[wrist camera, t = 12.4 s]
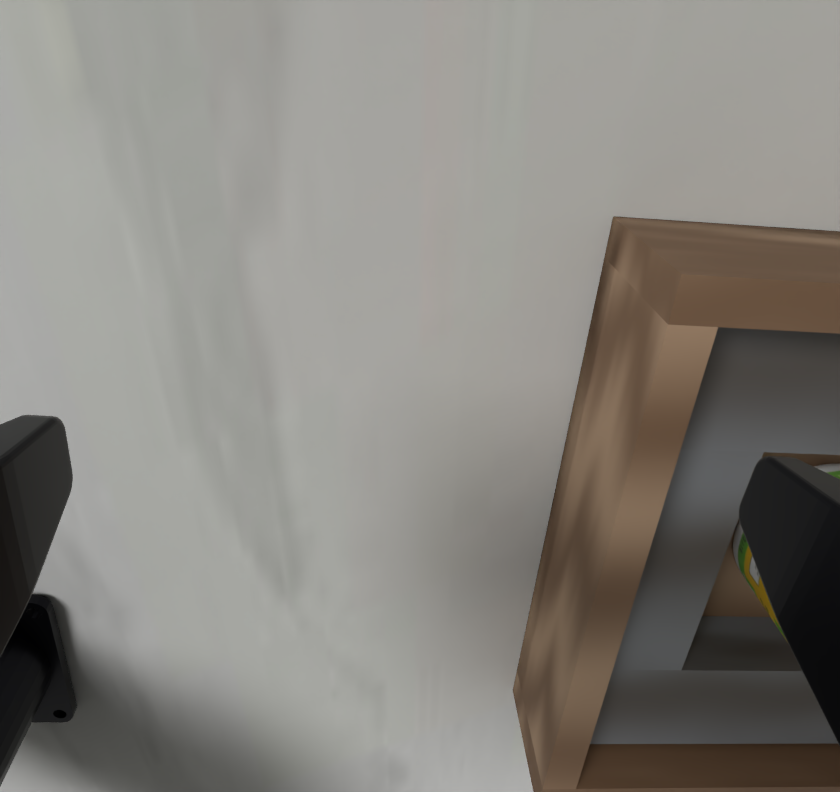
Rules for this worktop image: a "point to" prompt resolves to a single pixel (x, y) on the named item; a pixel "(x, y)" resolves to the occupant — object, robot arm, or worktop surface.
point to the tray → (634, 486)
